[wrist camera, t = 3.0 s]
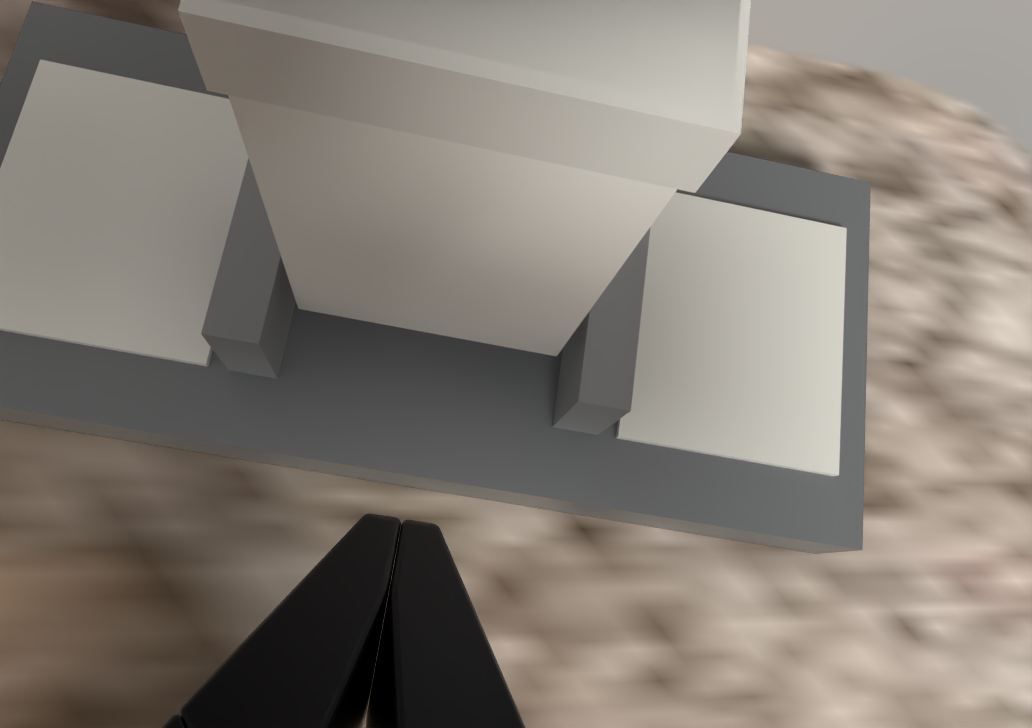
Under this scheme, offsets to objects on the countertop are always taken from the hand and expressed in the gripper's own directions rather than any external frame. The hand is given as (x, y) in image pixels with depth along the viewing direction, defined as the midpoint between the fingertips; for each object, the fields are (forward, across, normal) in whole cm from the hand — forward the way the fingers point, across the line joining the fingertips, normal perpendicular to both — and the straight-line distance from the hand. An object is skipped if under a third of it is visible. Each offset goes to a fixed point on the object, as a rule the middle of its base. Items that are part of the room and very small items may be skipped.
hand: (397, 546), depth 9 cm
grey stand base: (+11, 0, +2) cm, 11 cm away
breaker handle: (+8, 0, 0) cm, 8 cm away
